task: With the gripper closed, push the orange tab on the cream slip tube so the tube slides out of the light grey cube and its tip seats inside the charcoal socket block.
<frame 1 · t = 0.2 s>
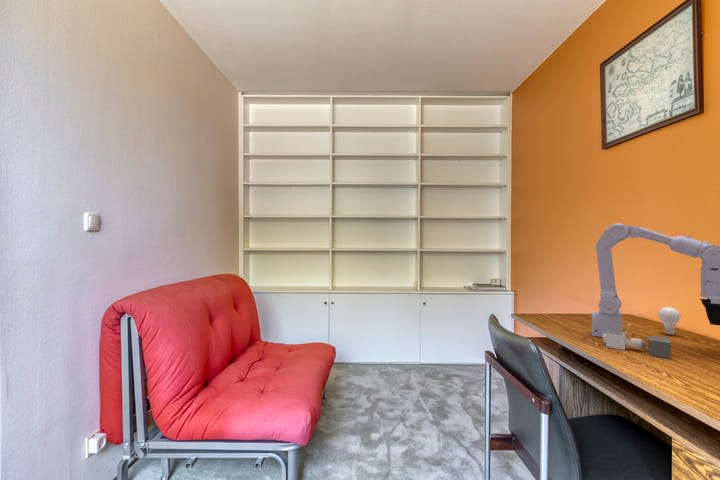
hand: (714, 322, 102), 10 cm above the table, tool pointing down, fingers open, 7 cm apart
light grey cube: (615, 339, 109), on the table
socket: (659, 346, 101), on the table
slip tube: (623, 334, 107), point 5 cm above the table, slide at 0.0 cm
lightbulb: (669, 335, 122), on the table
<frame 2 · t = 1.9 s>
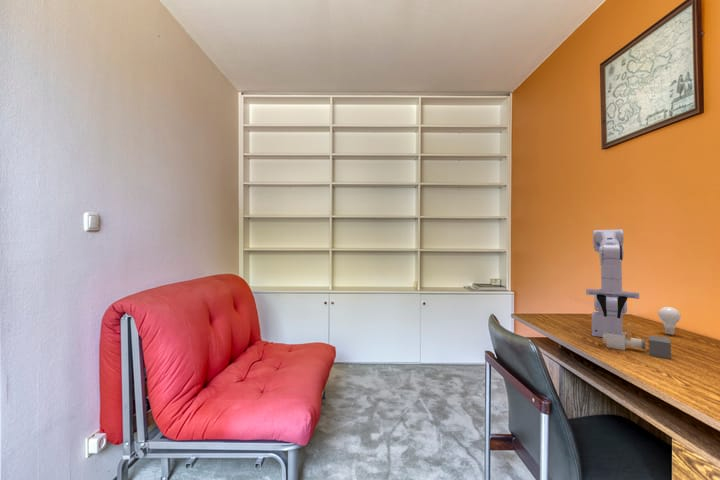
hand: (612, 317, 109), 10 cm above the table, tool pointing down, fingers open, 3 cm apart
nothing on the table moved.
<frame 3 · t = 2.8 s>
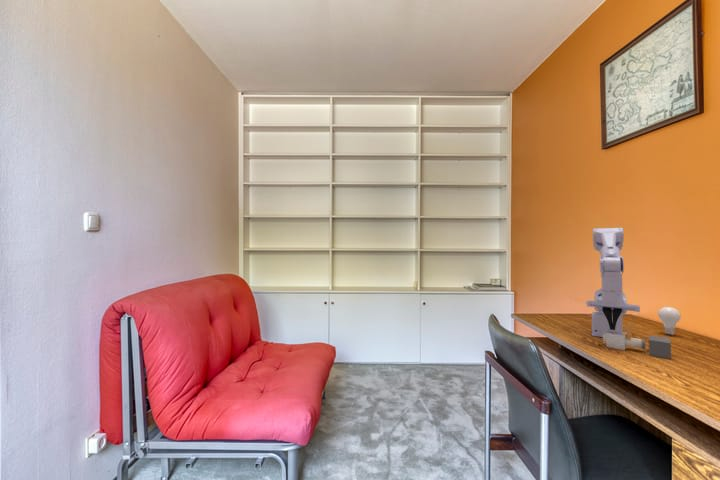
hand: (612, 329, 109), 6 cm above the table, tool pointing down, fingers closed
nothing on the table moved.
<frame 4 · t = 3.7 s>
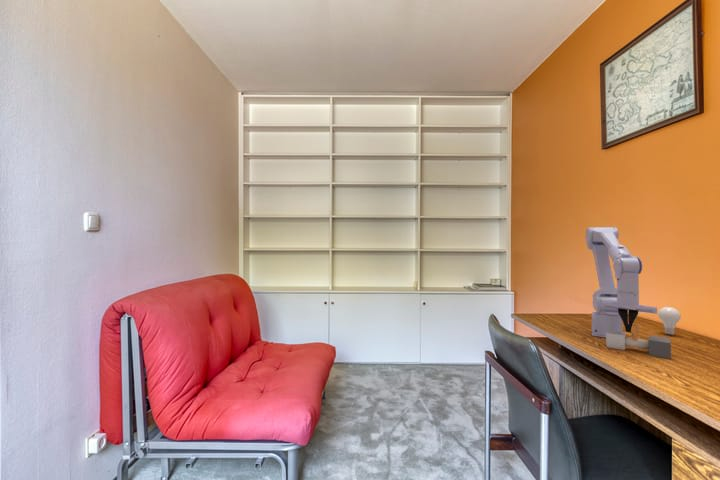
hand: (628, 331, 106), 6 cm above the table, tool pointing down, fingers closed
slip tube: (629, 335, 106), point 5 cm above the table, slide at 1.7 cm, touching gripper
everything else where it was.
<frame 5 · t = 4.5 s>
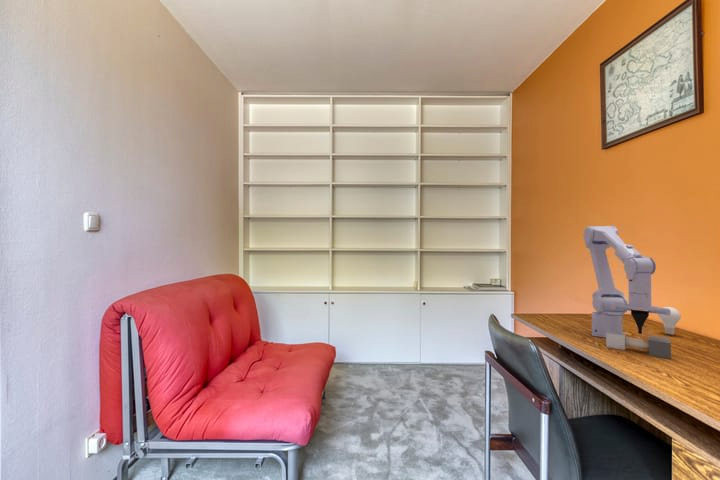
hand: (640, 333, 104), 6 cm above the table, tool pointing down, fingers closed
slip tube: (639, 336, 104), point 5 cm above the table, slide at 4.2 cm, touching gripper
everything else where it was.
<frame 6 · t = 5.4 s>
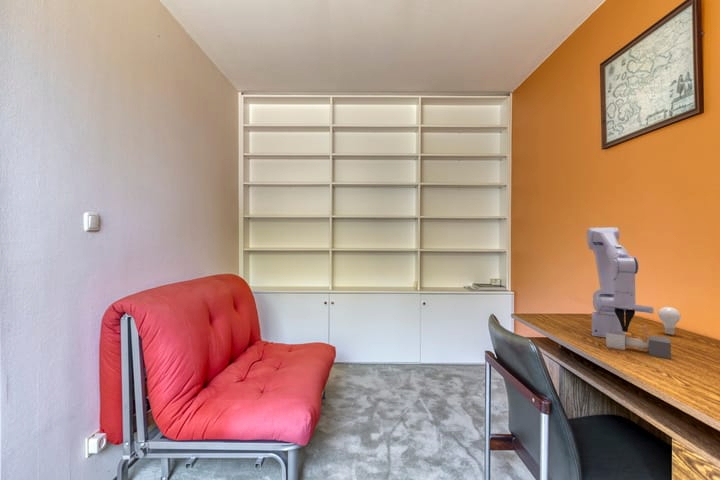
hand: (625, 331, 107), 6 cm above the table, tool pointing down, fingers closed
slip tube: (638, 336, 104), point 5 cm above the table, slide at 4.0 cm
everything else where it was.
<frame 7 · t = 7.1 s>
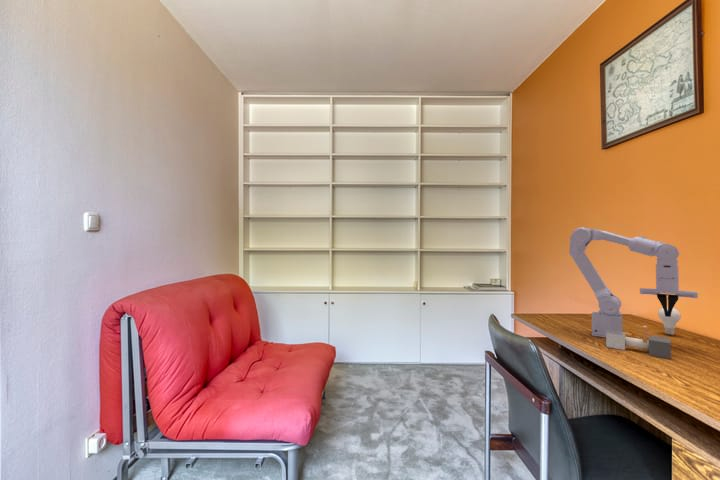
hand: (667, 316, 110), 10 cm above the table, tool pointing down, fingers closed
nothing on the table moved.
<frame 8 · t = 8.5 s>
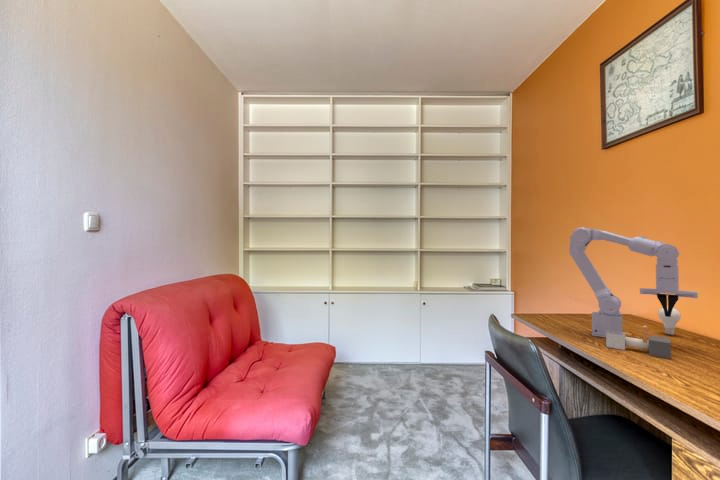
hand: (667, 316, 110), 10 cm above the table, tool pointing down, fingers closed
nothing on the table moved.
at the end: slip tube slide at 4.0 cm; lightbulb moved 0.2 cm from its start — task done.
